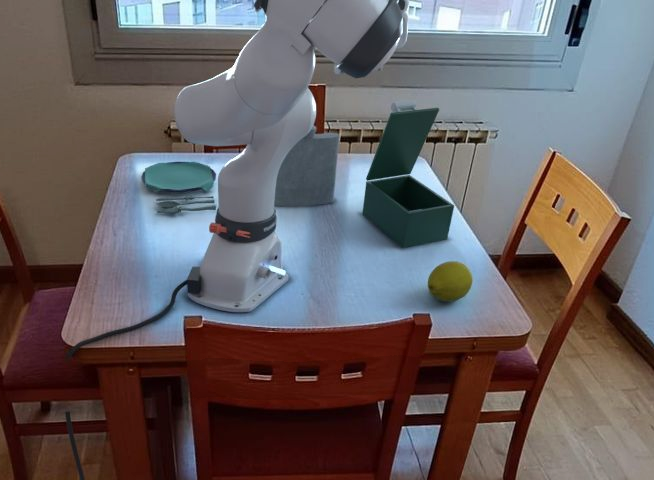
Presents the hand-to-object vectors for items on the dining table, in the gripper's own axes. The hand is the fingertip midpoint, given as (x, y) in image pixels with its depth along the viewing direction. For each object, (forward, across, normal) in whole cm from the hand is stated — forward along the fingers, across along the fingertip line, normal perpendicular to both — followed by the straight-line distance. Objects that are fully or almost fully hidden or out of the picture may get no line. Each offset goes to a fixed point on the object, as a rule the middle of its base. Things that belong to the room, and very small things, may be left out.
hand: (358, 71), depth 132 cm
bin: (+35, +12, -8) cm, 38 cm away
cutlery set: (+35, -33, +30) cm, 57 cm away
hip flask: (+35, -5, +12) cm, 38 cm away
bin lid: (+17, +12, -3) cm, 21 cm away
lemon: (+35, +3, -38) cm, 52 cm away
